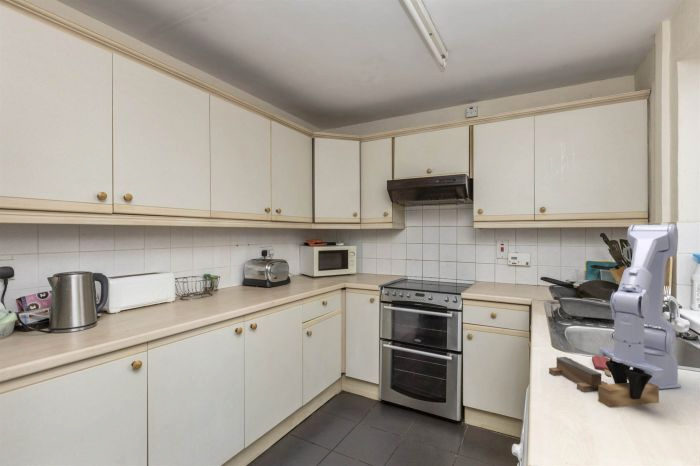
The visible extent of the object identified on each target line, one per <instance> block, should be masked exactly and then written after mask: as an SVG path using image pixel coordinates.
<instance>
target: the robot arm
mask: <svg viewBox="0 0 700 466" xmlns="http://www.w3.org/2000/svg"><path fill="white" fill-rule="evenodd" d="M626 234H627V235H626V237H627V243H628V244H629V246H630V249H631V250H632V257H631V262H630V266H629V267H626V268H625V269H624V270H623V272H622V276H621V279H620V282H619V285H618V289H617V291H616V292H615V291H613V292H612V293H611V295H610V302H609V303H610V305H609V306H610V310H611V318H612V320H614V323H613V324H614V325H613V328H614V329H613V331H614V335H613V349H612V348H608V347H599V351H598V352H599V353H598V356H603V357H606V358H609V359H610V361H606V365H607V367H608V369H609V370H610V374H611V376H612V379H613V381H614V384H617V383H629V386H630V397H631V398H632V399H640V398H641V395H642V392H643V390H644V388H645V386H646V384H647V383H648V382H649V383H652V384H654V385H656V386H659V390H664V389H675V388H682V385H681V384H678V382H679V380H678V379H679V376H678V375H679V373H678V372H679V371H678V370H679V364H678V363H679V362H678V359H677V358H676V356H675V355H674V354H673V353H674V352H675V350H676V346H677V336H676V328H675V325H674V324H672V323H671V322H670V321H669V320H667V319H666V318H665V317H663V309H664V296H665V281H666V269H667V268H666V266H667V262H668V259H669V258H671V257H674V256H676V255H677V252H678V246H679V245H678V244H679V230H678V227H677V226H676V225H675V224H674V223H670V224H631V225H630V226H629V227H628V228H627V233H626ZM651 326H652V327H651ZM653 326H654V327H653ZM657 327H659V328H657ZM631 368H632V369H631Z"/></svg>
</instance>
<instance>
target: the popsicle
mask: <svg viewBox="0 0 700 466" xmlns="http://www.w3.org/2000/svg"><path fill="white" fill-rule="evenodd" d="M591 361H592V365H593V368H594V369H595V371H602V372H604V373H605V375H606V376H608V377H611V376H612V374H611V372H610V370H609V369H608V367H607V365H606V361H610V358H608V357H606V356H601V355H593V356H592V357H591Z"/></svg>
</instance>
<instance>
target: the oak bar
mask: <svg viewBox="0 0 700 466" xmlns="http://www.w3.org/2000/svg"><path fill="white" fill-rule="evenodd" d="M659 390H660V389H659V386H656V385H654V384H652V383H649V382H648V383H647V384H646V386H645V388H644V390H643V392H642V395H641V398H640V399H632V398H631V397H630V386H629V382H627V383H617V384H615V383H608V384H605V385H598V391H597V392H598V393H597V394H598V395H597V396H598V398H597V399H598V402H599V403H601V404H603V405H604V406H607V407H608V408H616V407H617V408H618V407H626V406H637V405H647V404H648V405H649V404H659V401H660V400H659V399H660V397H659V395H660V394H659V393H660V391H659Z"/></svg>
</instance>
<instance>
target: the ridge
mask: <svg viewBox="0 0 700 466" xmlns="http://www.w3.org/2000/svg"><path fill="white" fill-rule="evenodd" d="M548 373H549V374H550V375H552V376H554V377H557V376H562V377H564V378H566V379H568V380H570V381H571V382H573V383H575V384H576V389H577V390H579V391H580V392H582V393H588V392H591V393H592V392H598V385H605V384H609V383H608V382H606V381H603V380H602V373H601V372H598V370H596V369H595V370H594V369H592V368H590V367H588V366H586V365H584V364H583V363H579V362H578V361H576V360H573V359H571V358H570V357H567V356H558V357H556V366H555V367H549V368H548Z"/></svg>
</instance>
